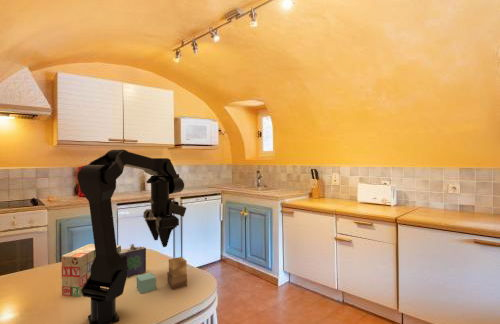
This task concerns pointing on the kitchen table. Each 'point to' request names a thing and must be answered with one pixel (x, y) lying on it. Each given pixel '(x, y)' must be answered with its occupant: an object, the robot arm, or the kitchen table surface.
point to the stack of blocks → (78, 269)
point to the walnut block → (176, 281)
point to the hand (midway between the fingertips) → (160, 243)
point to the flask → (135, 260)
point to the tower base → (146, 282)
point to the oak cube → (177, 266)
